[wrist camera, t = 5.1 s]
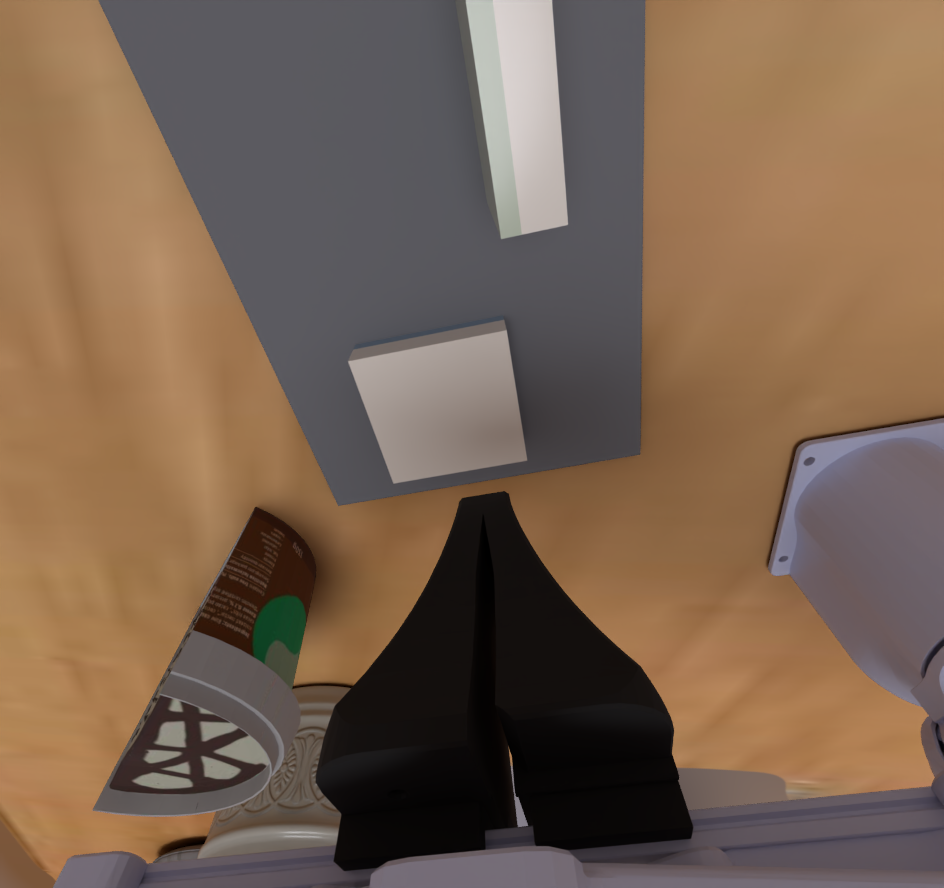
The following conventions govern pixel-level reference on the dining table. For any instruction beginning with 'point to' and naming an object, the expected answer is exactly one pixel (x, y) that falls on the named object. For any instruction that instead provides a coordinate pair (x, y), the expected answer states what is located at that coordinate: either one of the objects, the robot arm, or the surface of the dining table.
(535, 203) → the tile sage
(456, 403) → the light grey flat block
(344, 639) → the dining table surface
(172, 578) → the dining table surface
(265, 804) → the jar
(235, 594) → the food container
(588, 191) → the mat
